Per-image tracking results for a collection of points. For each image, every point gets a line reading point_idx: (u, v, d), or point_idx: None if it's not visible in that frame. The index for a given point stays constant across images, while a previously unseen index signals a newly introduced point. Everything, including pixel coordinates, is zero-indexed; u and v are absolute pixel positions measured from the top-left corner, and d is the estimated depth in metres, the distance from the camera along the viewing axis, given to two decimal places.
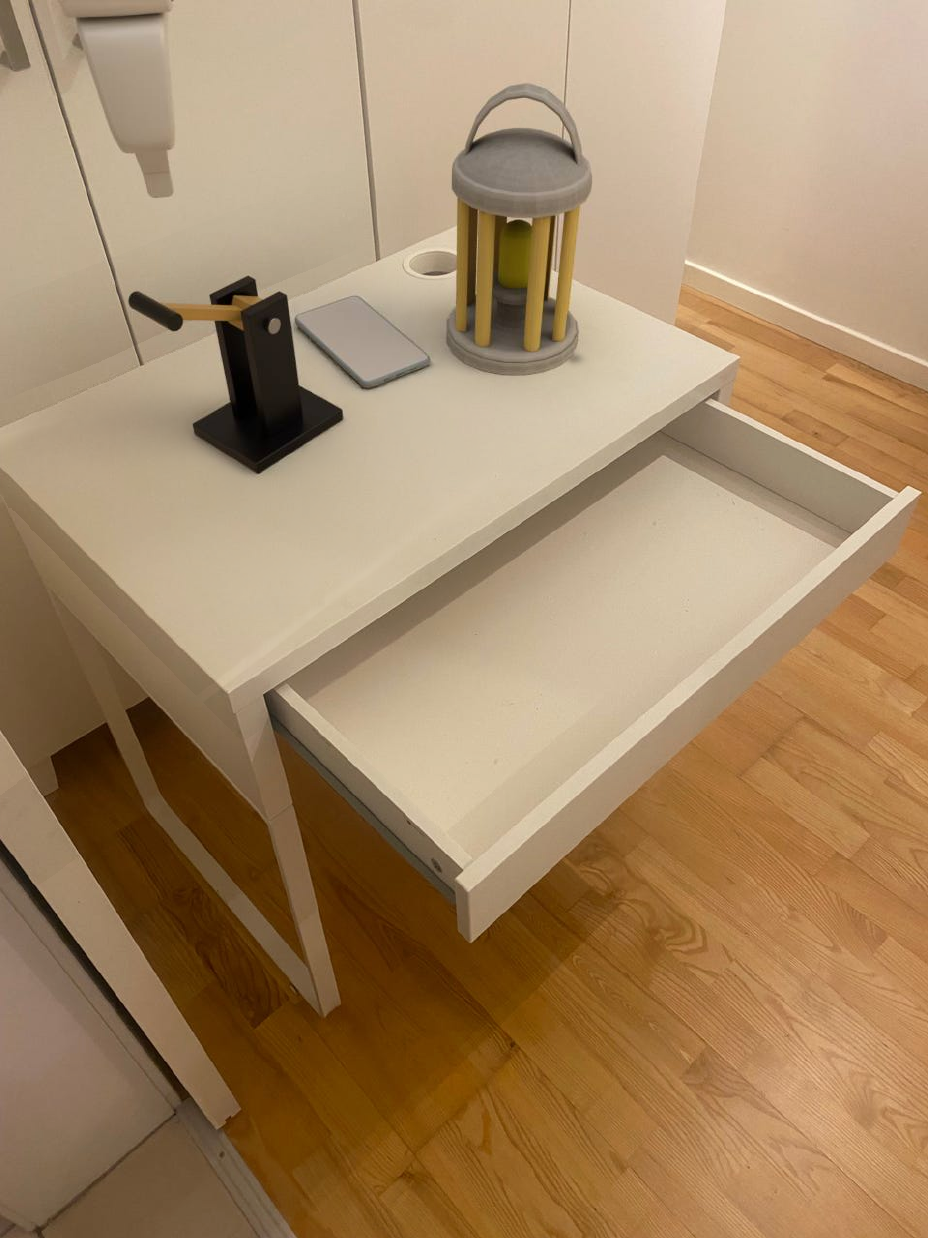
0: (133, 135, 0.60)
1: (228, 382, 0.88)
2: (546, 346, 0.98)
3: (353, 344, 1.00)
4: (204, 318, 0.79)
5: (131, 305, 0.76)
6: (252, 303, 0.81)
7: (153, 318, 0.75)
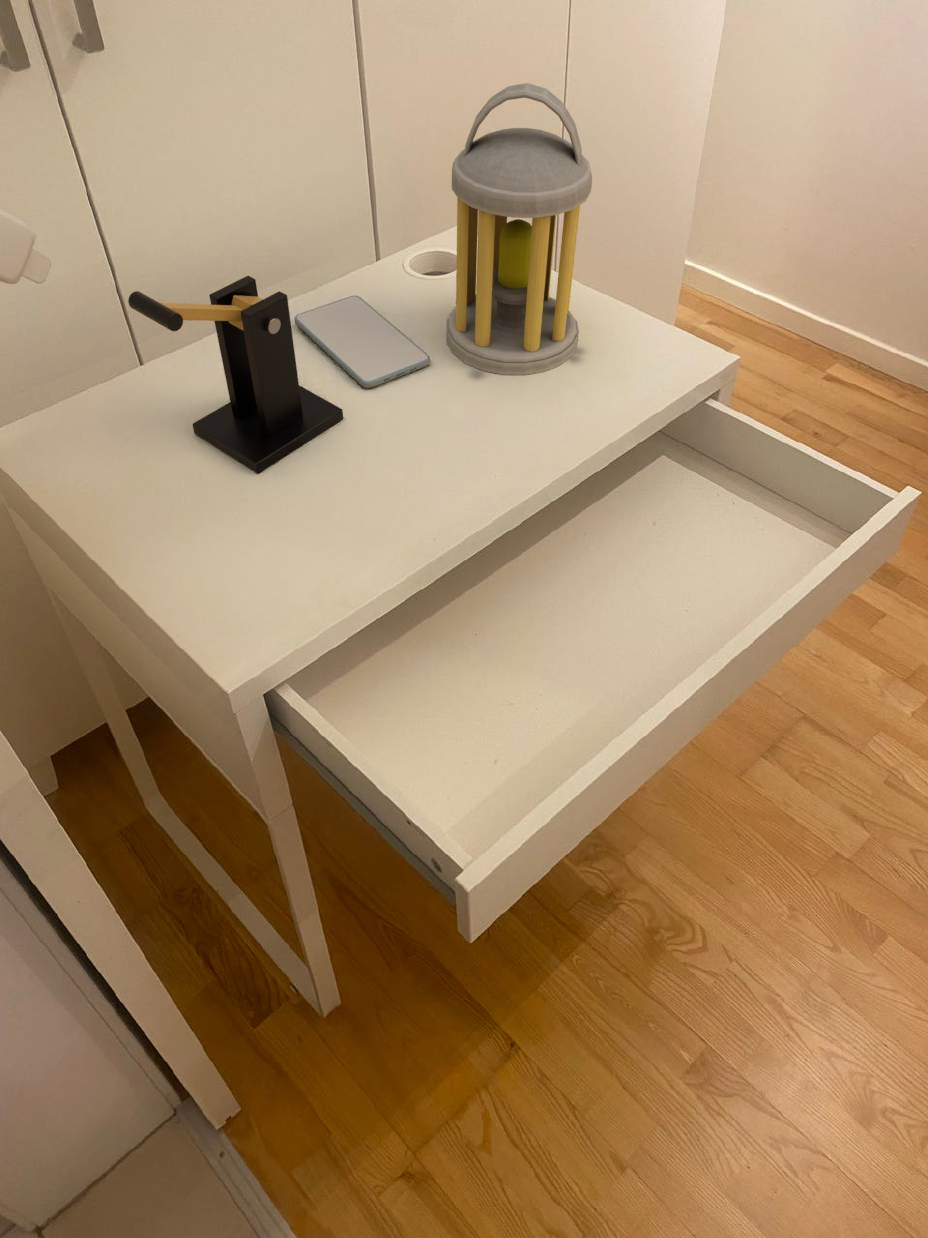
0: None
1: (228, 382, 0.88)
2: (546, 346, 0.98)
3: (353, 344, 1.00)
4: (204, 318, 0.79)
5: (131, 305, 0.76)
6: (252, 303, 0.81)
7: (153, 318, 0.75)
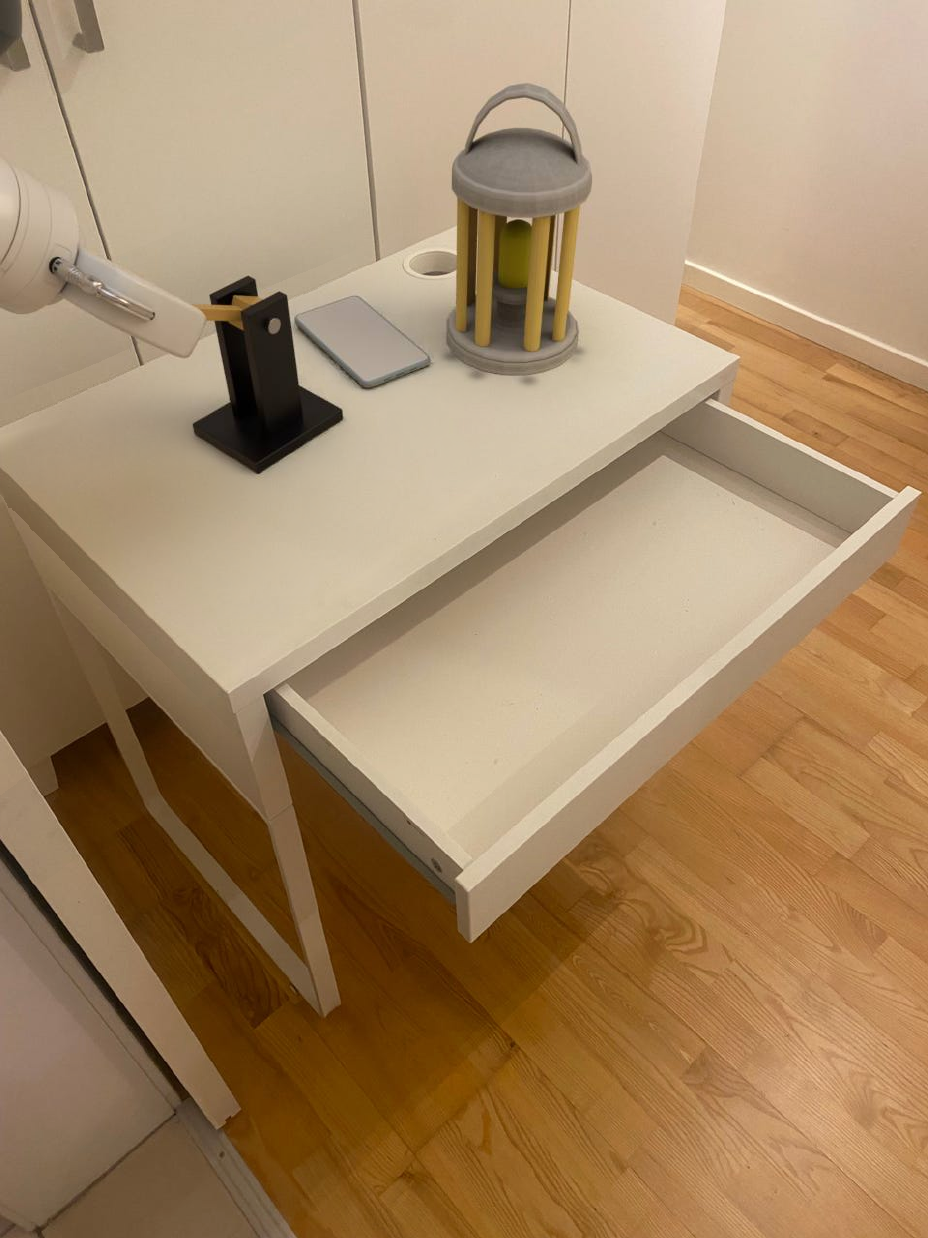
0: None
1: (228, 382, 0.88)
2: (546, 346, 0.98)
3: (353, 344, 1.00)
4: None
5: None
6: (252, 303, 0.81)
7: None
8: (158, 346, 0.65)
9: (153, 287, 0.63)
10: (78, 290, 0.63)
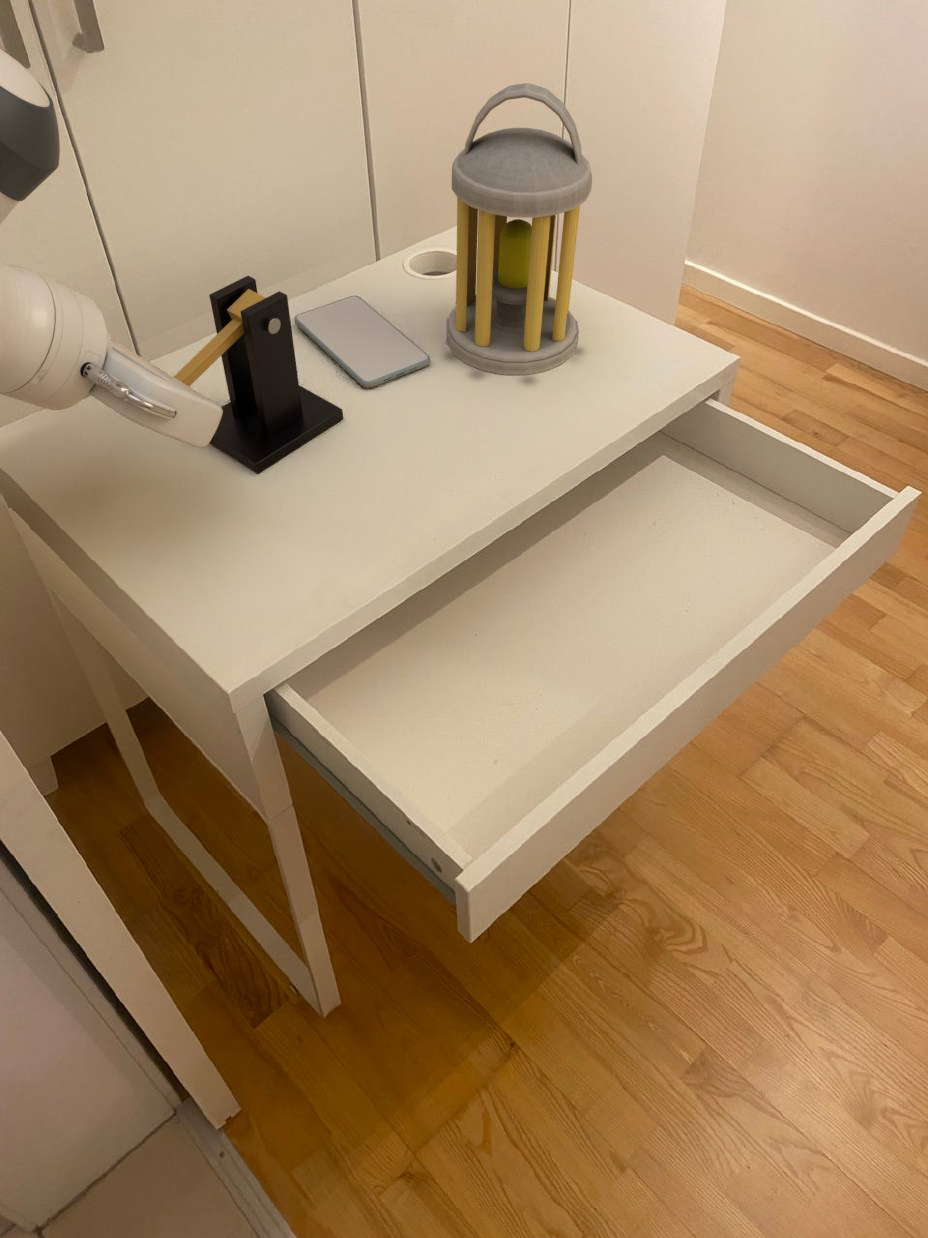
0: None
1: (228, 382, 0.88)
2: (546, 346, 0.98)
3: (353, 344, 1.00)
4: (213, 361, 0.82)
5: None
6: None
7: None
8: (179, 440, 0.71)
9: (175, 388, 0.69)
10: (106, 391, 0.69)
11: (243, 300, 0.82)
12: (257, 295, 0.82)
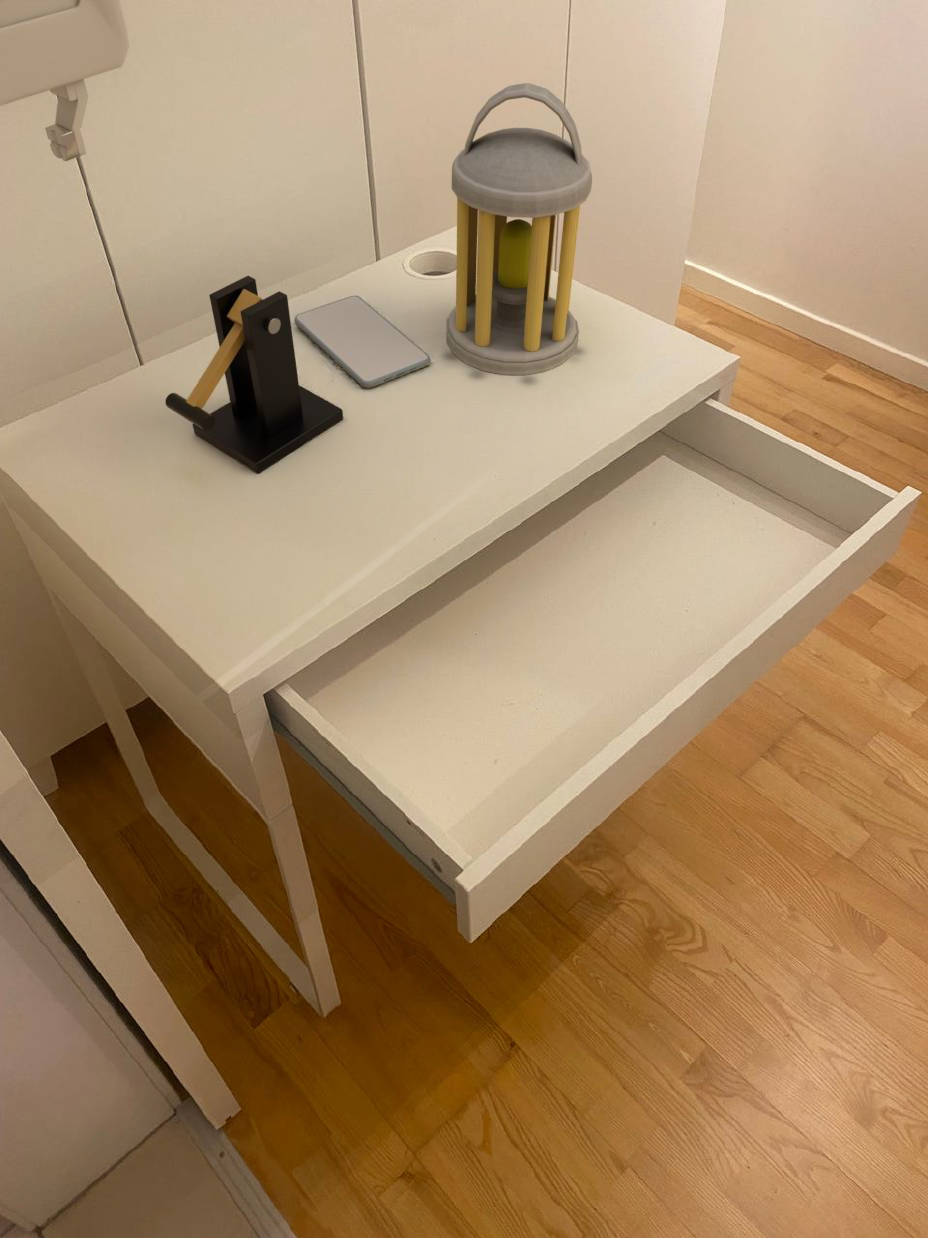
0: None
1: (228, 382, 0.88)
2: (546, 346, 0.98)
3: (353, 344, 1.00)
4: (223, 371, 0.83)
5: None
6: None
7: None
8: None
9: None
10: None
11: (240, 303, 0.82)
12: (252, 296, 0.82)
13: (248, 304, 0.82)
